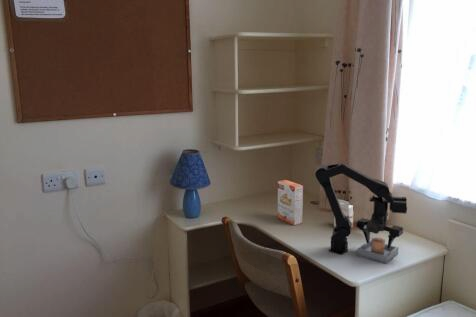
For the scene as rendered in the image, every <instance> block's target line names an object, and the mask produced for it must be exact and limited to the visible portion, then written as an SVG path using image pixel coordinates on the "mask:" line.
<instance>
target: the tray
mask: <svg viewBox="0 0 476 317" xmlns="http://www.w3.org/2000/svg"><path fill="white" fill-rule="evenodd" d="M371 244H372V239H370V240H369V243H367V242H365V243H363V244H362V245H360V247H358V248H357V249H356V256H357V257H362V258H364V259H368V260H372V261H375V262H378V263H382V264H385V265H387V264H388V263H389V262H391V261H392V260H393V258H395V257H396V256H398V255H399V248H400V247H399V246H394V245H392V244H391V246H390V248H389V249H388V243H385V250H384V255H381V254H377V253H374V252H371Z"/></svg>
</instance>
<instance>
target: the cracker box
mask: <svg viewBox="0 0 476 317" xmlns="http://www.w3.org/2000/svg"><path fill="white" fill-rule="evenodd" d="M303 194H304V185H302V184H299V183H296V182H295V181H294V182H293V181H290V180H287V179H283V180H278V181H277V218H278V219H280V220H281V221H282V222H283V221H284V222H285V223H288V224H290V225H292V226H297V225H301V224H303V206H304V205H303V201H304V195H303Z"/></svg>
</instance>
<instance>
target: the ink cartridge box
mask: <svg viewBox="0 0 476 317" xmlns="http://www.w3.org/2000/svg"><path fill="white" fill-rule="evenodd" d="M338 201H339V204H340V206H341V209H342V211H343V213H344V215H345V216H348V215H349V219H350V221H351V223H352V228H351V229H353V228H354V211H353V206H354V205H351V204H350V202H349V200H348V201H346V200H343V199H339V198H338ZM333 217H334V218H333V227H334V228H335V227H336V222H335V216H334V215H333Z"/></svg>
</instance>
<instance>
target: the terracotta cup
mask: <svg viewBox="0 0 476 317" xmlns="http://www.w3.org/2000/svg"><path fill="white" fill-rule="evenodd" d="M371 240H372V244H371V252H374V253H377V254H381V255H384V250H385V244H386V240H385V239H384V238H382V237H377V236H376V237H372V238H371Z"/></svg>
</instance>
